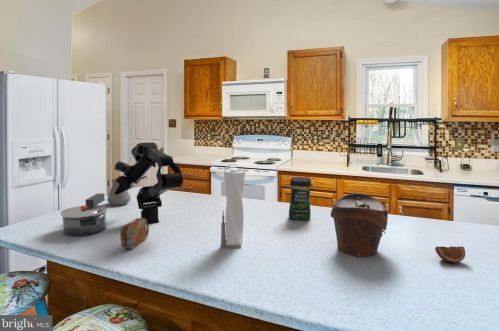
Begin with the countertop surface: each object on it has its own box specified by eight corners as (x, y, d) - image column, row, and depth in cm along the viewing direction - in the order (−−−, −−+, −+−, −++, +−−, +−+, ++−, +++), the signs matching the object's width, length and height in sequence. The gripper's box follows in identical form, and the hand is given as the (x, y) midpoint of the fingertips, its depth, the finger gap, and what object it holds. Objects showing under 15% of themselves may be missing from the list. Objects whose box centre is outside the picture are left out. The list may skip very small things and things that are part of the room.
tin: (127, 252, 113) (126, 227, 112) (119, 252, 114) (118, 227, 112) (149, 237, 128) (149, 215, 126) (142, 236, 128) (141, 214, 127)
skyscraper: (223, 239, 126) (222, 163, 122) (245, 239, 126) (245, 163, 122) (220, 247, 118) (220, 166, 114) (244, 248, 117) (244, 166, 114)
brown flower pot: (356, 265, 103) (360, 207, 101) (318, 244, 122) (320, 194, 120) (400, 257, 111) (405, 202, 108) (358, 238, 129) (360, 190, 127)
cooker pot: (111, 234, 130) (110, 216, 129) (66, 242, 122) (65, 222, 121) (99, 218, 152) (98, 202, 151) (60, 223, 144) (59, 207, 143)
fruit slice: (439, 265, 104) (441, 249, 104) (429, 256, 111) (430, 241, 110) (468, 266, 104) (470, 250, 103) (456, 257, 110) (458, 242, 110)
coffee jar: (288, 220, 150) (289, 178, 148) (289, 215, 158) (289, 175, 155) (310, 221, 149) (312, 178, 146) (310, 216, 156) (311, 175, 154)
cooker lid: (97, 218, 127) (96, 207, 126) (52, 218, 126) (51, 208, 126) (119, 202, 151) (119, 193, 151) (82, 202, 151) (82, 193, 150)
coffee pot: (102, 206, 172) (101, 176, 170) (114, 201, 184) (113, 173, 182) (143, 207, 170) (142, 177, 168) (152, 202, 181) (151, 174, 179)
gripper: (131, 153, 155) (108, 178, 156) (119, 156, 137) (92, 184, 137) (150, 170, 157) (126, 194, 157) (141, 175, 138) (114, 203, 139)
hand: (115, 194), depth 148 cm, fingers closed
